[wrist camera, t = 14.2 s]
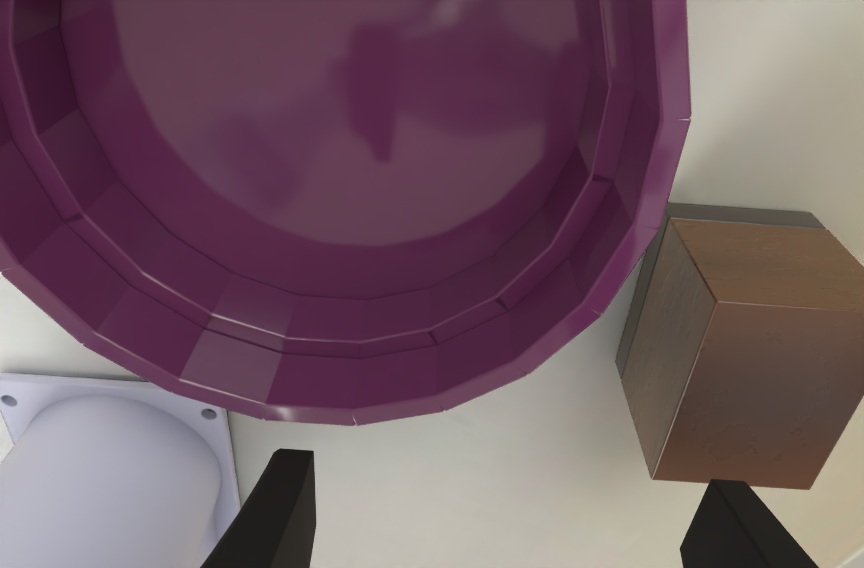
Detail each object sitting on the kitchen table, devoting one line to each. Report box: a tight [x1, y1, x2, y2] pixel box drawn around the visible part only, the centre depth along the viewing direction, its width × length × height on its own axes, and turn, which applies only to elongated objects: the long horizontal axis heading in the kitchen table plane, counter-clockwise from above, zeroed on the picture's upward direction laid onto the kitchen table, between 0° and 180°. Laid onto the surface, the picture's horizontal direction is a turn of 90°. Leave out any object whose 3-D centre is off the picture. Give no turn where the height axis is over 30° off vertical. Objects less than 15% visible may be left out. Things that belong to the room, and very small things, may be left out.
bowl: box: [0, 0, 692, 426], centre depth 15 cm, size 15×15×5 cm
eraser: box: [615, 203, 864, 490], centre depth 19 cm, size 6×4×5 cm
